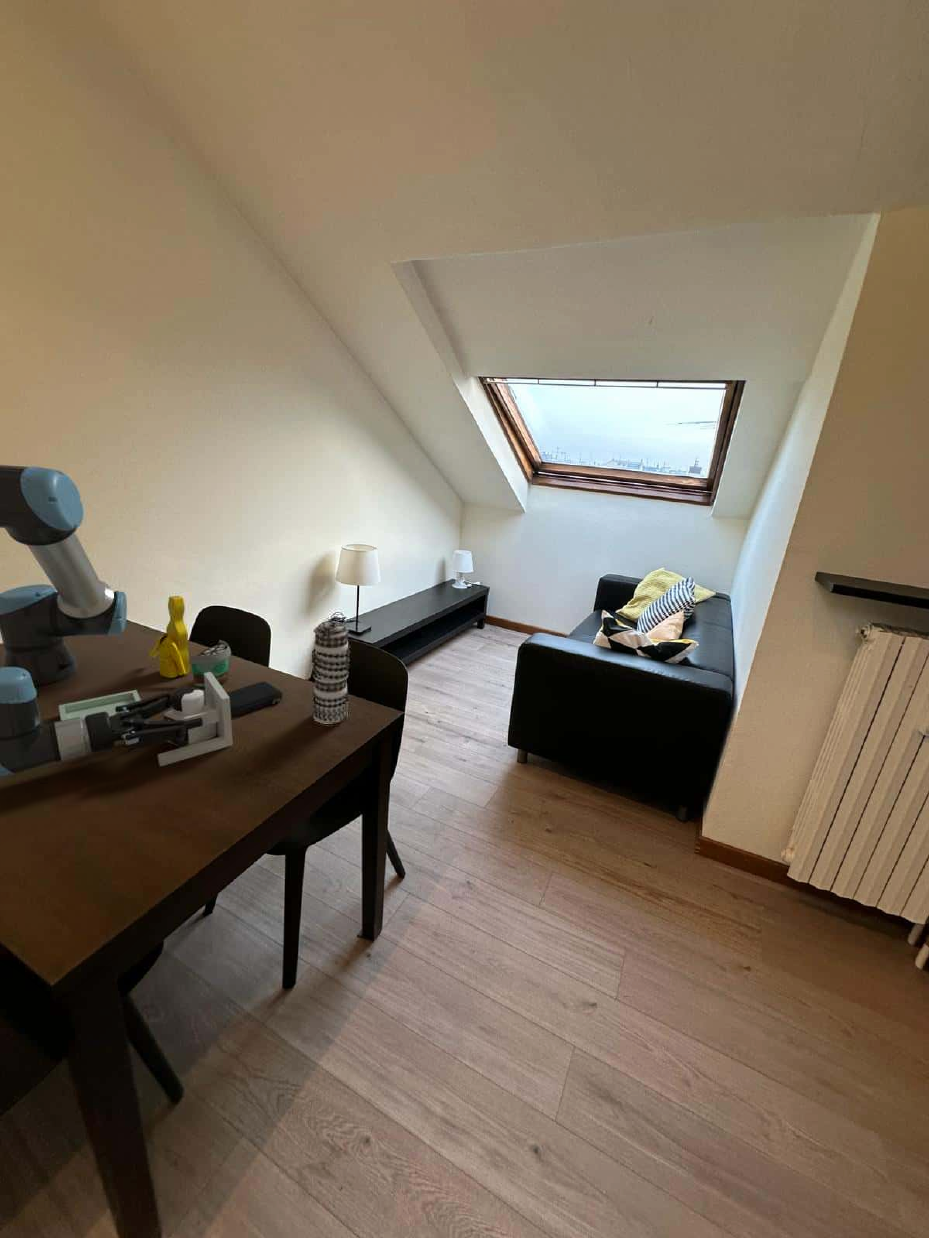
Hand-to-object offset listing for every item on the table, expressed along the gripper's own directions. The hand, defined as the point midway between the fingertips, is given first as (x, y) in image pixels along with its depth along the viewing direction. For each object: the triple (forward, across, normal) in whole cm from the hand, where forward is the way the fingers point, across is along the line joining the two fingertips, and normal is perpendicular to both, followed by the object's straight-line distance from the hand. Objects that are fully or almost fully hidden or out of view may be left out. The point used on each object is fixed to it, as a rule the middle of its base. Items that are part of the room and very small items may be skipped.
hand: (211, 705), depth 109 cm
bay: (-4, 0, -7) cm, 8 cm away
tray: (-18, -17, -7) cm, 26 cm away
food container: (+8, -24, -8) cm, 26 cm away
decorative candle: (+26, +7, -7) cm, 28 cm away
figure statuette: (0, -35, -8) cm, 36 cm away
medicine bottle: (-4, 0, -7) cm, 9 cm away
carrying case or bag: (+11, -9, -8) cm, 17 cm away
